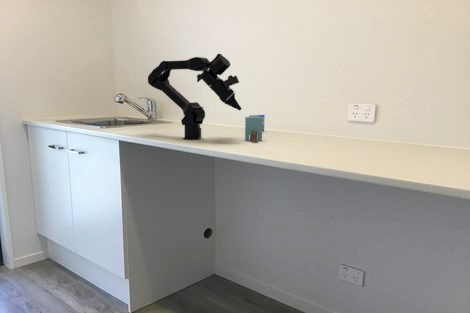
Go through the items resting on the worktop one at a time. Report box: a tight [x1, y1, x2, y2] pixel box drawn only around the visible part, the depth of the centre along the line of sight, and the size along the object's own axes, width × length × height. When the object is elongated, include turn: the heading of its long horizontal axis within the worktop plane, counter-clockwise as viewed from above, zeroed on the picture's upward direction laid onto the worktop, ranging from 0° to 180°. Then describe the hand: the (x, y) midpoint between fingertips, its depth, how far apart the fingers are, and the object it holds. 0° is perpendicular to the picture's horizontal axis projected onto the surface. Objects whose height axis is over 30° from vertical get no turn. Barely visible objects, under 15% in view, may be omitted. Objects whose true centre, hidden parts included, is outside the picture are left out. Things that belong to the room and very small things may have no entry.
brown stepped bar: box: [249, 130, 258, 144], centre depth 160 cm, size 12×2×5 cm, turn 3°
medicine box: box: [248, 114, 266, 133], centre depth 190 cm, size 8×4×9 cm, turn 143°
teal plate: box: [244, 116, 263, 142], centre depth 160 cm, size 7×3×10 cm, turn 93°
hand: (239, 108), depth 159 cm, fingers open, 9 cm apart
